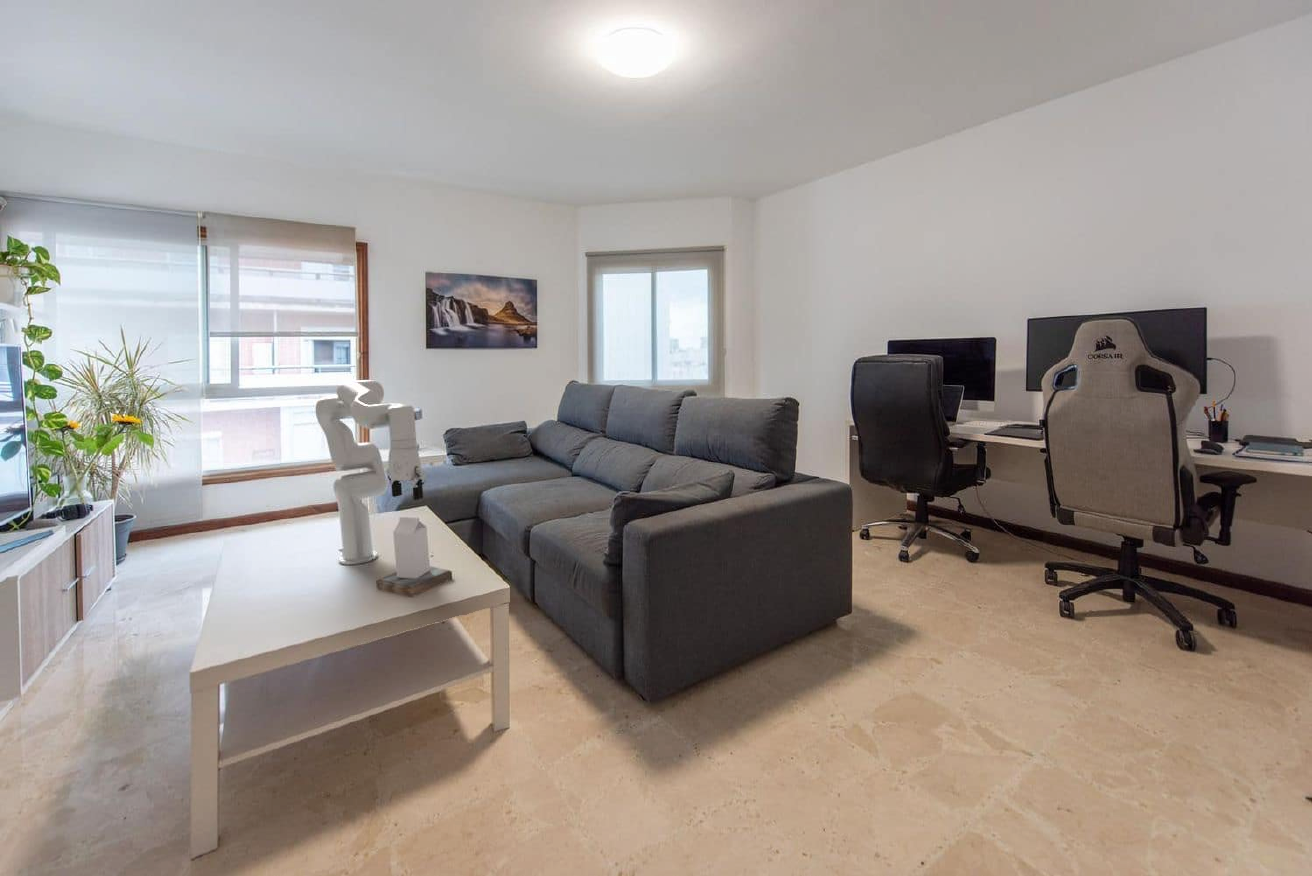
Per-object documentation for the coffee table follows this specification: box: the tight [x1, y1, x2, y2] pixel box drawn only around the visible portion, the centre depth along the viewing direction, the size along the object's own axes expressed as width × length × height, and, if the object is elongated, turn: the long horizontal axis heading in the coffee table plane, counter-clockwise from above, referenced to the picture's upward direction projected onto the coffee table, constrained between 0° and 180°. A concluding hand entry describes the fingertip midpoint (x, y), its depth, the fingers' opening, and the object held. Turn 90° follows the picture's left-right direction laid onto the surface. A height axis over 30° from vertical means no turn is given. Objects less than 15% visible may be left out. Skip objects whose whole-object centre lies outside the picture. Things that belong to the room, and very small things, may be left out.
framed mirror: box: [375, 566, 453, 598], centre depth 184 cm, size 16×16×3 cm
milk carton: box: [392, 516, 431, 579], centre depth 182 cm, size 7×7×19 cm
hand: (407, 497), depth 181 cm, fingers open, 9 cm apart
